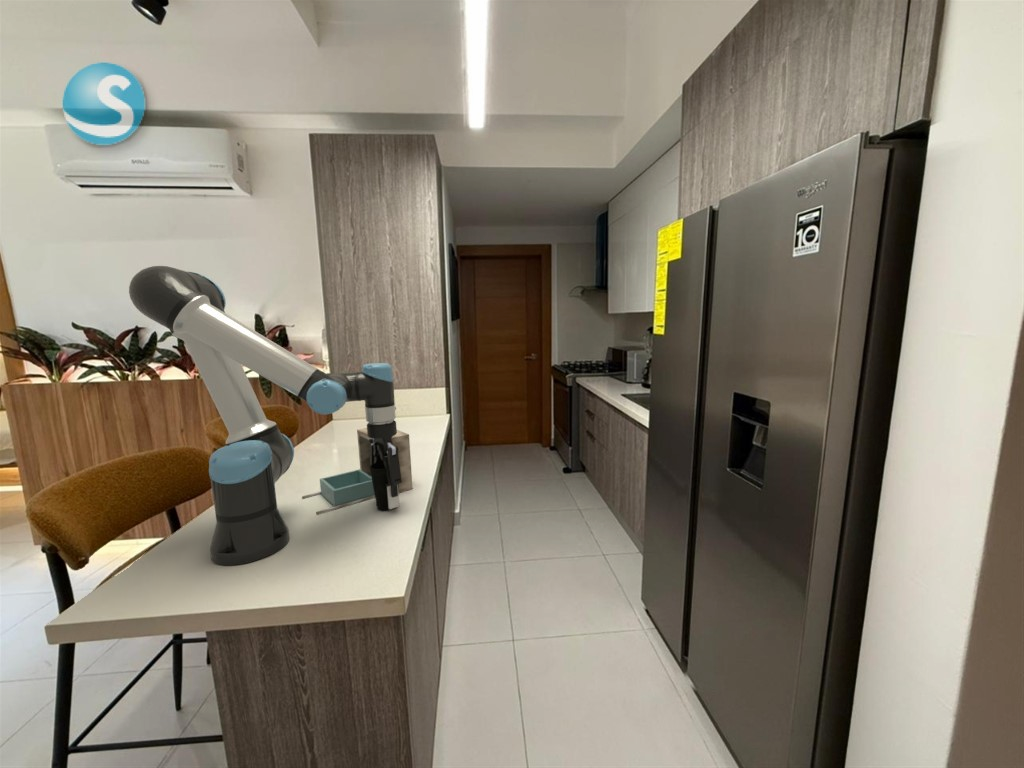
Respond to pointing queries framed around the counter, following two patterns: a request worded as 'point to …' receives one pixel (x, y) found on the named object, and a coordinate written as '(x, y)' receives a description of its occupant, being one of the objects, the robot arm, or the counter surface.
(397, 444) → the sliding drawer cabinet
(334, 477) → the tray
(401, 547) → the counter surface
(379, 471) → the cup
